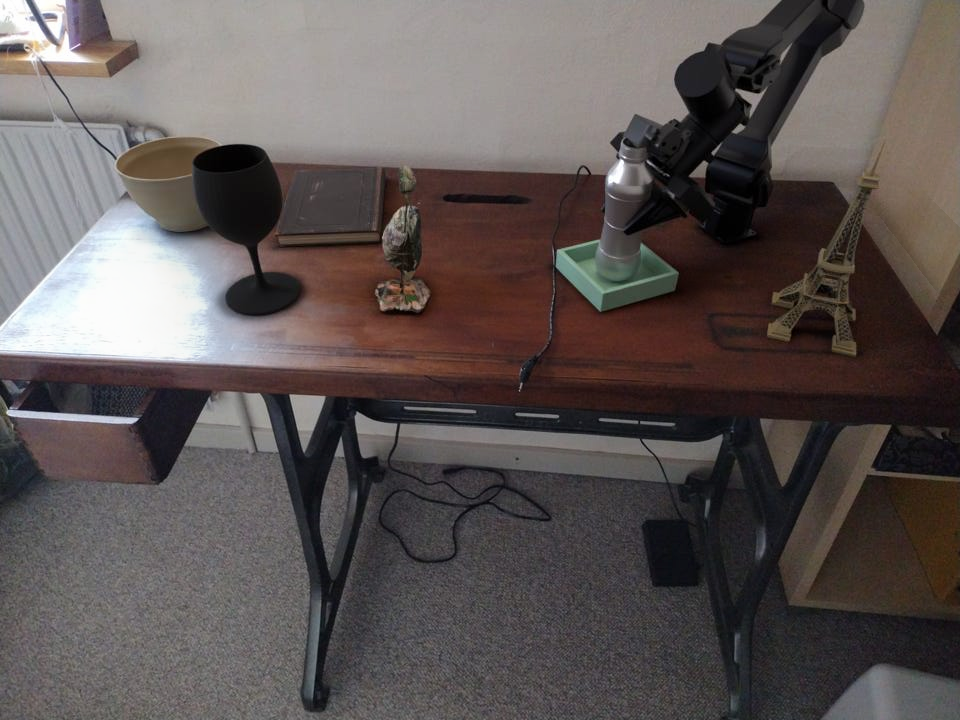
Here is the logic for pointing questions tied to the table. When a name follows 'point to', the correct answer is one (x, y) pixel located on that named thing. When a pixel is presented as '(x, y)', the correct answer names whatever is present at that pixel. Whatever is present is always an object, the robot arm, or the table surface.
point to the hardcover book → (333, 207)
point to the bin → (611, 294)
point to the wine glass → (244, 219)
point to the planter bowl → (165, 179)
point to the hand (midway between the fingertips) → (613, 222)
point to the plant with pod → (403, 254)
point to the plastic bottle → (623, 213)
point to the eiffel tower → (833, 266)
